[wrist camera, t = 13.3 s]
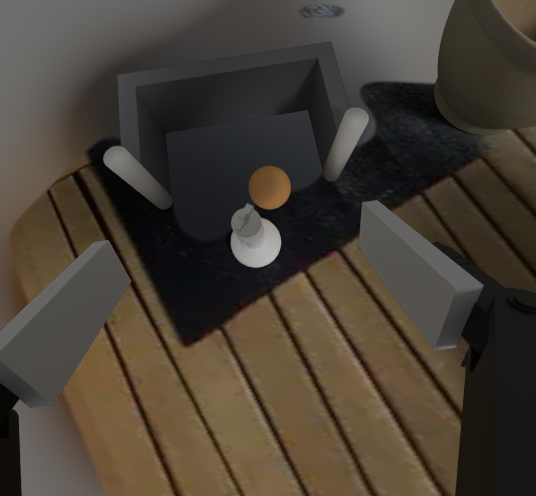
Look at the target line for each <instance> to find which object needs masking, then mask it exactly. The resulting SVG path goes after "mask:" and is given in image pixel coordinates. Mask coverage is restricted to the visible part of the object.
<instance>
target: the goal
mask: <svg viewBox="0 0 536 496" xmlns="http://www.w3.org/2000/svg"><path fill="white" fill-rule="evenodd" d="M117 79H118V99H119V118H120V138H121V146H114V147H111V148H110V149H108V150H107V151H106V152H105V154H104V158H103V160H104V163H105V165H106V166H107V167H108V168H110V169H111V170H112V171H113V172H115V173H116V174H117V175H118V176H120V177H121V178H122V179H123V180H125V181H126V182H127V183H128V184H130V185H131V186H132V187H133V188H134V189H136V190H137V191H138V192H139V193H141V194H142V195H143V196H144V197H146V198H147V199H148V200H149V201H151V202H152V203H153V204H154V205H156V206H157V207H158V208H159V209H168V208H169V207H171V205H172V203H173V198H172V196H171V189H170V180H169V168H168V157H167V146H166V136H165V133H168V132H173V131H180V130H186V129H192V128H198V127H205V126H211V125H217V124H223V123H229V122H236V121H242V120H248V119H254V118H261V117H266V116H272V115H279V114H285V113H291V112H298V111H304V110H308V111H309V116H310V120H311V124H312V128H313V132H314V136H315V141H316V145H317V149H318V153H319V157H320V161H321V166H322V170H323V171H322V176H323V178H324V179H325V180H327V181H330V182H332V181H335V180H337V179H338V177H339V175H340V174H341V172H342V170H343V168H344V166H345V164H346V163H347V161H348V159H349V157H350V155H351V153H352V151H353V150H354V148H355V146H356V144H357V142H358V140H359V138H360V136H361V135H362V133H363V131H364V129H365V127H366V125H367V124H368V121H369V117H368V114H367V113H366V111H364V110H363V109H361V108H357V107H355V108H349V104H348V100H347V97H346V93H345V90H344V87H343V83H342V79H341V76H340V72H339V68H338V65H337V61H336V58H335V54H334V50H333V47H332V43H331V42H324V43H318V44H312V45H305V46H299V47H293V48H286V49H280V50H273V51H267V52H261V53H255V54H249V55H242V56H235V57H229V58H222V59H216V60H210V61H204V62H197V63H191V64H184V65H178V66H171V67H165V68H159V69H152V70H147V71H140V72H133V73H127V74H120V75H118V76H117Z"/></svg>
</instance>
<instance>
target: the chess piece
mask: <svg viewBox="0 0 536 496" xmlns="http://www.w3.org/2000/svg"><path fill="white" fill-rule="evenodd" d="M253 209H254V207H253V206H252V205H250V204H248V203H247V204H246V206H245V208H242V209H240V210H238V211H237V212H236V213H235V214H234V215H233V217H232V220H231V226H232V229H233V232H232V235H231V249H232V252H233V254H234V256H235V257H236V259H237V260H238V261H239V262H241V263H242V264H244V265H246V266H249V267H262V266H265V265H267V264H269V263H271V262H272V261H273V260H274V259H275V258H276V256H277V255H278V253H279V251H280V247H281V237H280V234H279V231H278V230H277V228H276V227H275V226H274V225H273V224H272V223H271V222H270V221H268V220H267V219H264V218H261V217H260V215H259V214H258V213H257V212H256V211H255V210H253Z"/></svg>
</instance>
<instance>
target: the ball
mask: <svg viewBox="0 0 536 496" xmlns="http://www.w3.org/2000/svg"><path fill="white" fill-rule="evenodd" d="M290 190H291V185H290V180H289V178H288V176H287V175H286V173H285V172H284V171H283V170H281V169H280V168H278V167H275V166H264V167H261V168H259V169H258V170H256V171H255V172H254V174H253V175H252V176H251V178H250V181H249V194H250V197H251V199H252V200H253V202H254V203H255V204H256V205H258V206H259V207H261V208H264V209H275V208H278V207H280V206H281V205H283V204H284V203H285V202H286V200H287V199H288V197H289V195H290Z"/></svg>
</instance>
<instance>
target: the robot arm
mask: <svg viewBox="0 0 536 496" xmlns="http://www.w3.org/2000/svg"><path fill="white" fill-rule="evenodd" d="M359 249H360V250H361V252H362V253H363V255H364V256H365V257H366V259H367V260H368V261H369V263H370V264H371V265H372V267H373V268H374V270H375V271H376V272H377V274H378V275H379V276H380V278H381V279H382V281H383V282H384V283H385V285H386V286H387V287H388V289H389V290H390V291H391V293H392V294H393V296H394V297H395V298H396V300H397V301H398V302H399V304H400V305H401V306H402V308H403V309H404V311H405V312H406V313H407V315H408V316H409V317H410V319H411V320H412V321H413V323H414V324H415V326H416V327H417V328H418V330H419V331H420V332H421V334H422V335H423V336H424V338H425V339H426V341H427V342H428V343H429V345H430V346H431V347H432V349H433V350H434V351H435V350H442V349H449V348H456V347H457V345H458V343H459V340H460V338H461V336H463V337H464V338H465V339H466V341H467V342H468V343H469V344H470V347H469V349H468V351H467V353H466V355H465V357H464V359H463V362H462V364H461V366H463V367H465V366H466V374H465V386H464V398H463V410H462V422H461V433H460V445H459V457H458V469H457V481H456V493H455V496H536V294H535V293H532V292H529V291H526V290H522V289H515V288H505V287H503V286H502V285H501V284H499V283H498V282H497V281H495V280H494V279H493V278H491V277H490V276H489V275H487V274H486V273H485V272H483V271H482V270H481V269H479V268H478V267H477V266H475V265H474V264H471V262H470V261H468V260H467V259H466V258H463V257H462V255H460V254H459V253H458V252H456V251H455V250H454V249H452V248H450V247H448V246H445V245H443V244H441V243H438V242H437V243H430V242H429V241H428V240H426V239H425V238H424V237H423V236H421V235H420V234H419V233H418V232H416V231H415V230H414V229H413V228H411V227H410V226H409V225H408V224H406V223H405V222H404V221H403V220H401V219H400V218H399V217H398V216H396V215H395V214H394V213H393V212H391V211H390V210H389V209H388V208H386V207H385V206H384V205H383V204H381V203H380V202H379V201H378V200H375V201H368V202H362V212H361V225H360V237H359ZM130 282H131V280H130V278H129V276H128V275H127V273H126V271H125V269H124V267H123V266H122V264H121V262H120V260H119V258H118V256H117V255H116V253H115V251H114V249H113V247H112V246H111V244H110V242H109V240H106V241H99V242H94V243H93V244H91V245H90V246H89V247H88V248H87V249H86V250H85V251H84V252H83V253H82V254H81V255H80V256H79V257H78V258H77V259H76V260H75V261H73V262H72V263H71V264H70V265H69V266H68V267H67V268H66V269H65V270H64V271H63V272H62V273H61V274H60V275H59V276H58V277H57V278H55V279H54V280H53V281H52V282H51V283H50V284H49V285H48V286H47V287H46V288H45V289H44V290H43V291H42V292H41V293H40V294H39V295H37V296H36V297H35V298H34V299H33V300H32V301H31V302H30V303H29V304H28V305H27V306H26V307H25V308H24V309H23V310H22V311H21V312H19V313H18V314H17V315H16V316H15V317H14V318H13V319H12V320H11V321H10V322H8V324H7V325H6V326H4V327H3V328H2V329H1V330H0V496H22V495H21V469H20V444H19V443H20V442H19V416H18V414H17V412H16V411H15V410H14V409H12V408H13V407H14V405H15V404H16V403H17V401H18V400H19V399H20V400H21V401H23V402H24V403H25V404H27V405H28V406H29V407H30V408H35V407H42V406H49V405H53V404H54V403H55V401H56V399H57V398H58V396H59V395H60V393H61V392H62V390H63V388H64V387H65V385H66V384H67V382H68V380H69V379H70V377H71V376H72V374H73V373H74V371H75V369H76V368H77V366H78V365H79V363H80V362H81V360H82V358H83V357H84V355H85V354H86V352H87V350H88V349H89V347H90V346H91V344H92V343H93V341H94V339H95V338H96V336H97V335H98V333H99V331H100V330H101V328H102V327H103V325H104V324H105V322H106V320H107V319H108V317H109V316H110V314H111V312H112V311H113V309H114V308H115V306H116V305H117V303H118V301H119V300H120V298H121V297H122V295H123V294H124V292H125V290H126V289H127V287H128V286H129V284H130Z"/></svg>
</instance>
